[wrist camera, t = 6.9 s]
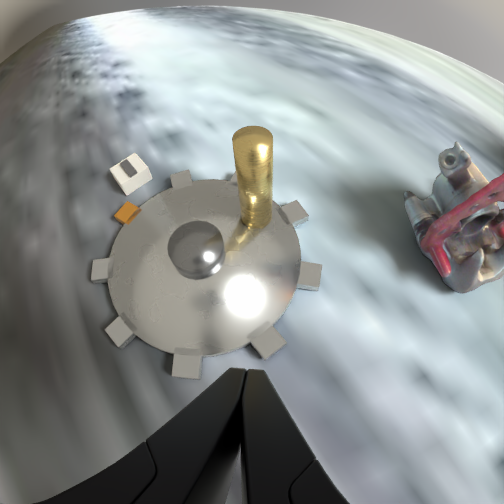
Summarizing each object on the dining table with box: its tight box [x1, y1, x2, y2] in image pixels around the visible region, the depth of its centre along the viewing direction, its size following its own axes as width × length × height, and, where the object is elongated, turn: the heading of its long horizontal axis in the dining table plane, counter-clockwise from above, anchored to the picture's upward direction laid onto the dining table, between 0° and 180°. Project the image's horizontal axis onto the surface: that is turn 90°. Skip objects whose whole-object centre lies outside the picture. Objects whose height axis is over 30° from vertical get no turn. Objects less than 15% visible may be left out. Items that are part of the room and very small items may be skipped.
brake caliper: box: [404, 142, 504, 293], centre depth 21 cm, size 11×11×12 cm
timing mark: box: [110, 153, 153, 196], centre depth 28 cm, size 3×3×2 cm
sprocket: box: [91, 126, 322, 380], centre depth 20 cm, size 18×18×9 cm
